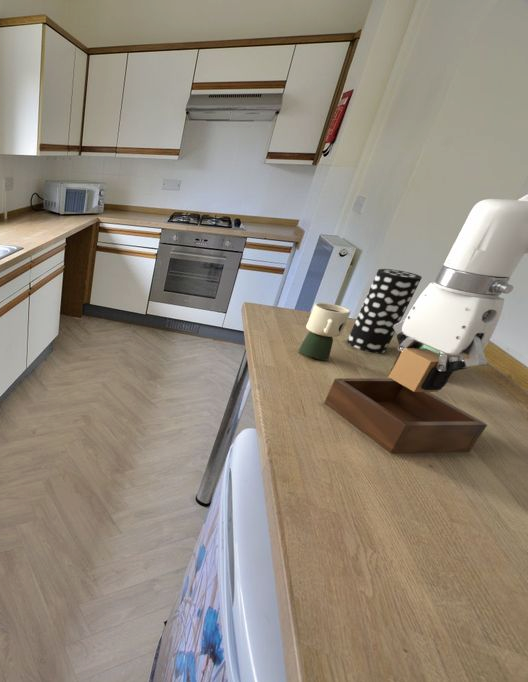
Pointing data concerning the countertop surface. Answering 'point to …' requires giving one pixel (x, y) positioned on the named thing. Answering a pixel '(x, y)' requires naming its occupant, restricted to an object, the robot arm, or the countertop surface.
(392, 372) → the box
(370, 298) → the white-spotted black cylinder
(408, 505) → the countertop surface
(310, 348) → the character mug
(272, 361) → the countertop surface
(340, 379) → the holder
